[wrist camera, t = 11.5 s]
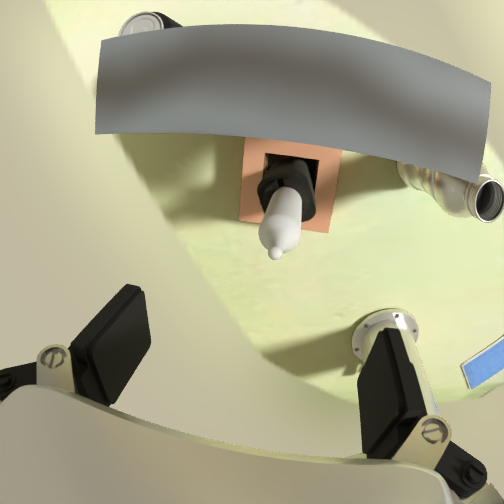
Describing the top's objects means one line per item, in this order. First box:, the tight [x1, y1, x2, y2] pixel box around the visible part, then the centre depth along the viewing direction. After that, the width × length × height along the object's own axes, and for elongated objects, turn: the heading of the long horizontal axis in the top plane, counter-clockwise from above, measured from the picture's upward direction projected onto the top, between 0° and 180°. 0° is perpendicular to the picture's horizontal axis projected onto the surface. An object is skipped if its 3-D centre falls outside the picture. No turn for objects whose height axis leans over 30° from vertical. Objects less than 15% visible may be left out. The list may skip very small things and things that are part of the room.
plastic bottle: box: [397, 161, 504, 223], centre depth 27 cm, size 6×7×20 cm
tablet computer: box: [461, 336, 504, 389], centre depth 46 cm, size 19×13×1 cm, turn 131°
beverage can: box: [118, 12, 183, 37], centre depth 29 cm, size 7×7×12 cm
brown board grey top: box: [95, 24, 491, 184], centre depth 24 cm, size 6×22×26 cm, turn 85°
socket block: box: [239, 137, 342, 233], centre depth 38 cm, size 12×12×5 cm
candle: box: [257, 157, 316, 260], centre depth 29 cm, size 5×5×25 cm
